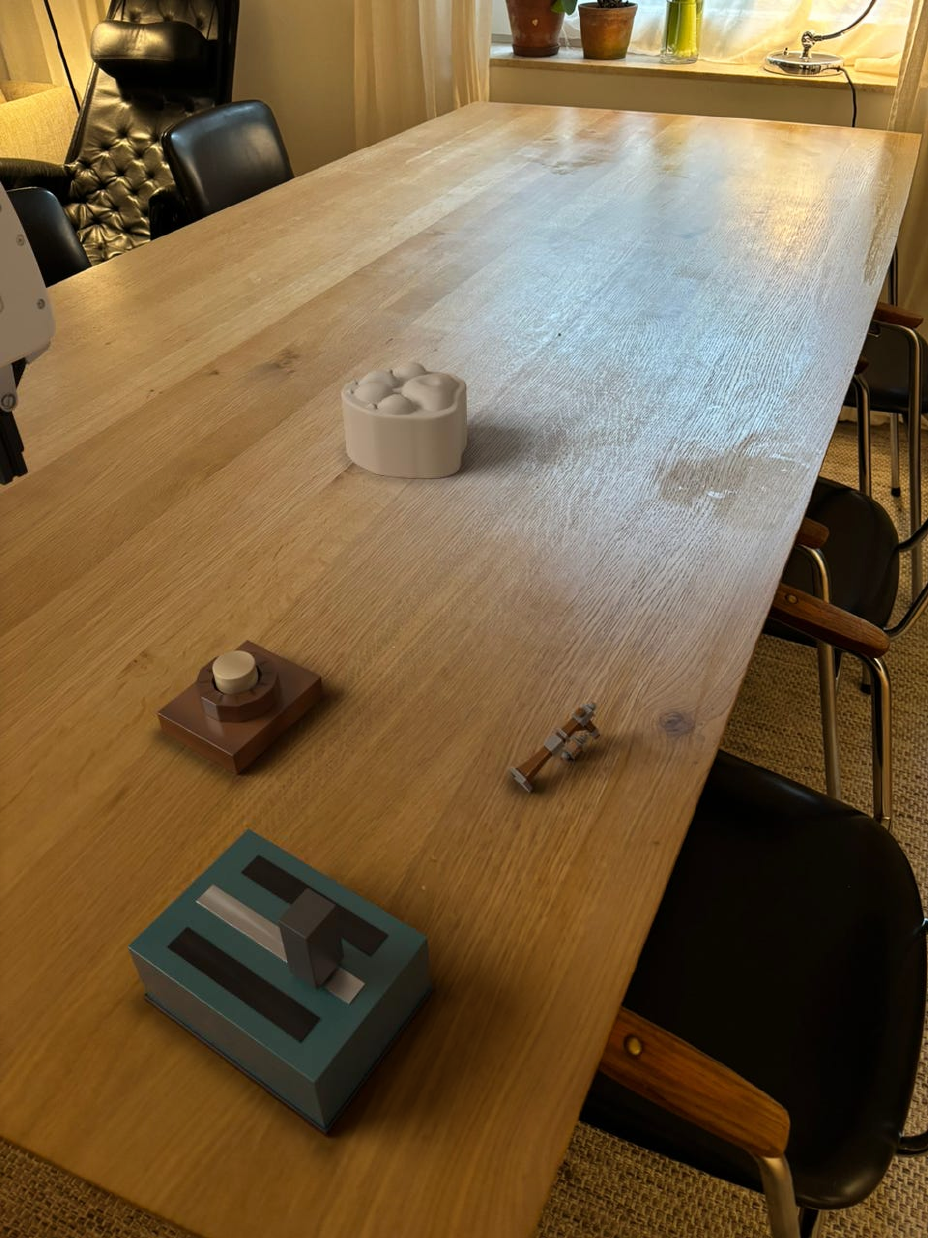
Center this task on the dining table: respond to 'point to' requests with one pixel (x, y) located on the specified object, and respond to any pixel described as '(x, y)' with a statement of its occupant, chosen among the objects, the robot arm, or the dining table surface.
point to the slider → (311, 938)
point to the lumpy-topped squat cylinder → (406, 422)
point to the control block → (241, 710)
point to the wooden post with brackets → (558, 745)
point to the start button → (235, 672)
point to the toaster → (283, 980)
